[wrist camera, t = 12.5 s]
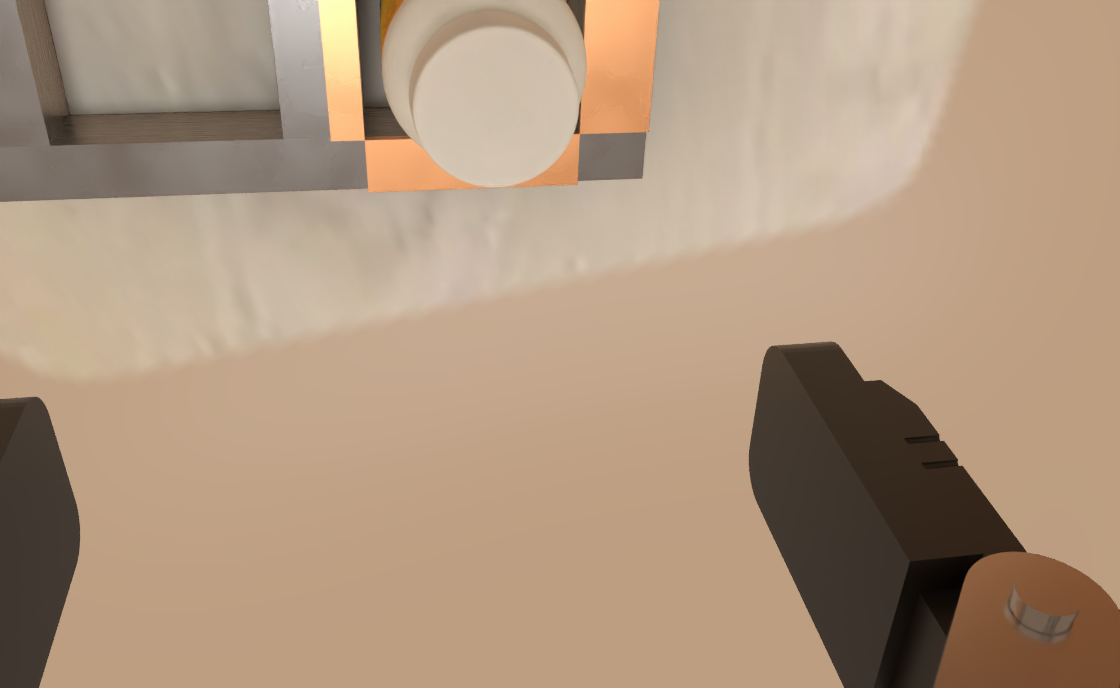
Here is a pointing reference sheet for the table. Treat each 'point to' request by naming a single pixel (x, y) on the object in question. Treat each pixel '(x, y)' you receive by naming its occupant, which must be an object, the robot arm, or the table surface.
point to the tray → (295, 117)
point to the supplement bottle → (484, 83)
